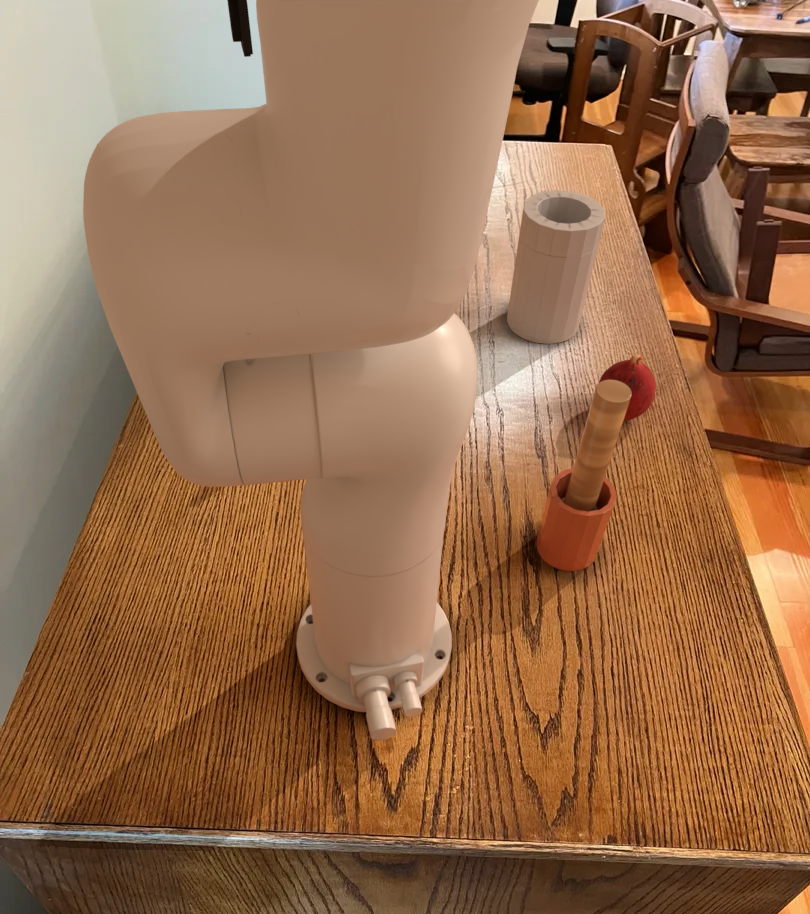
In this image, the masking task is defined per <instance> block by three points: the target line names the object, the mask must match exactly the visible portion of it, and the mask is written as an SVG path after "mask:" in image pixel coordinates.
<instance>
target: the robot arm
mask: <svg viewBox="0 0 810 914" xmlns="http://www.w3.org/2000/svg"><path fill="white" fill-rule="evenodd" d="M539 2H540V0H256V2H255V7H256V22H257V29H258V37H259V44H260V54H261V61H262V62H261V63H262V72H263V82H264V83H263V84H264V93H265V102H266V103H265V104H262V105H260V106H255V107H243V108H242V107H241V108H240V107H239V108H220V109H199V110H179V111H168V112H167V111H166V112H158V113H153V114H148V115H142V116H138V117H134V118H131V119H128V120H125V121H124V122H122V123H119V124H118V125H116V126H114V127H113V128H111V129H110V130H109V131H108V132H107V133H105V135H104V136H103V137H102V138H101V139H100V140H99V141H98V143H97V144H96V146H95V147H94V149H93V152H92V153H91V156H90V158H89V160H88V164H87V167H86V171H85V174H84V181H83V199H82V201H83V203H82V204H83V205H82V216H83V227H84V234H85V235H84V236H85V241H86V248H87V254H88V259H89V263H90V267H91V272H92V275H93V280H94V284H95V288H96V291H97V294H98V297H99V300H100V302H101V306H102V308H103V312H104V314H105V317H106V321H107V323H108V326H109V329H110V331H111V333H112V336H113V338H114V340H115V344H116V345H117V348H118V350H119V353H120V355H121V358H122V360H123V362H124V365H125V367H126V369H127V372H128V375H129V378H130V379H131V382H132V384H133V386H134V389H135V391H136V394H137V396H138V398H139V402H140V403H141V405H142V408H143V411H144V412H145V415H146V417H147V420H148V422H149V425H150V427H151V429H152V432H153V434H154V437H155V439H156V441H157V443H158V446H159V447H160V450H161V452H162V454H163V455H164V457H165V460H167V462H168V463H169V465H170V466H171V467H172V469H173V471H174V472H175V473H176V474H178V476H180V477H181V478H182V479H184V480H186V481H187V482H190V483H191V484H194V485H197V486H201V487H207V488H227V487H228V488H229V487H242V486H243V487H244V486H245V487H246V486H255V485H265V484H274V483H283V482H292V481H294V482H295V481H303V480H305V481H304V485H303V489H302V492H301V493H302V494H301V497H300V498H301V499H300V522H301V530H302V538H303V546H304V556H305V565H306V573H307V580H308V589H309V597H310V604H309V605H308V607H306V609H305V611H304V613H303V615H302V616H301V618H300V620H299V624H298V628H297V631H296V645H295V647H296V653H297V659H298V663H299V666H300V669H301V671H302V673H303V675H304V677H305V679H306V680H307V682H308V683H309V684H310V685H311V687H312V688H313V689H314V690H315V691H316V692H317V693H318V694H319V695H321V696H322V697H323V698H324V699H325V700H327V701H329V702H331V703H333V704H335V705H336V706H338V707H340V708H343V709H347V710H350V711H354V712H358V713H359V712H360V713H366V714H365V718H366V723H367V727H368V732H369V736H370V739H371V740H372V741H378V742H380V741H381V742H382V741H386V740H388V739H391V738H392V737H394V736H395V735H396V734H397V728H396V723H395V719H394V714H393V712H392V711H393V710H395V709H401V708H402V710H403V711H402V712H403V714H404V716H405V718H406V717H407V718H415V717H418V716H419V715H421V714H422V713H423V706H422V703H421V700H420V699H421V698H422V697H424V696H425V695H427V694H428V693H429V692H431V690H432V689H433V688H435V686H436V685H437V684H438V683H439V682H440V680H441V679H442V677H443V676H444V674H445V673H446V670H447V668H448V665H449V663H450V659H451V654H452V649H453V647H452V646H453V642H452V641H453V638H452V637H453V635H452V630H451V627H450V626H451V625H450V622H449V619H448V618H447V615H446V613H445V611H444V609H443V608H442V607H441V605H440V604H439V602H438V593H439V584H440V576H441V575H440V573H441V565H442V564H441V563H442V554H443V544H444V535H445V530H446V521H447V512H448V504H449V498H450V497H449V496H450V491H451V489H450V488H451V484H452V478H453V475H454V471H455V466H456V463H457V460H458V457H459V454H460V451H461V449H462V446H463V443H464V441H465V438H466V436H467V433H468V430H469V427H470V425H471V421H472V418H473V414H474V409H475V405H476V399H477V391H478V380H479V376H478V374H479V372H478V371H479V370H478V360H477V352H476V348H475V346H474V342H473V339H472V337H471V334H470V331H469V330H468V328H467V326H466V324H465V323H464V322H463V321H462V319H461V318H460V317H459V315H457V314H456V312H457V310H458V309H459V308H460V306H461V304H462V302H463V300H464V298H465V296H466V294H467V291H468V288H469V286H470V283H471V280H472V277H473V274H474V271H475V269H476V268H475V267H476V262H477V260H478V257H479V252H480V247H481V243H482V239H483V238H482V237H483V234H484V231H485V230H484V229H485V225H486V221H487V215H488V212H489V206H490V201H491V198H492V192H493V187H494V183H495V178H496V173H497V168H498V164H499V159H500V154H501V149H502V144H503V140H504V135H505V130H506V127H507V126H506V125H507V121H508V116H509V113H510V107H511V102H512V98H513V91H514V87H515V81H516V75H517V71H518V66H519V63H520V58H521V55H522V52H523V49H524V45H525V41H526V37H527V34H528V29H529V27H530V23H531V21H532V19H533V16H534V13H535V11H536V8H537V6H538V3H539ZM227 9H228V17H229V23H230V24H229V25H230V30H231V39H232V42H233V43H240V45H241V49H242V52H243V56H244V58H246V57H247V58H248V57H251V56H252V55H253V54H254V51H253V42H252V33H251V24H250V16H249V6H248V0H227ZM438 657H441V658H438ZM388 698H390V699H391V701H389V700H388Z"/></svg>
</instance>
